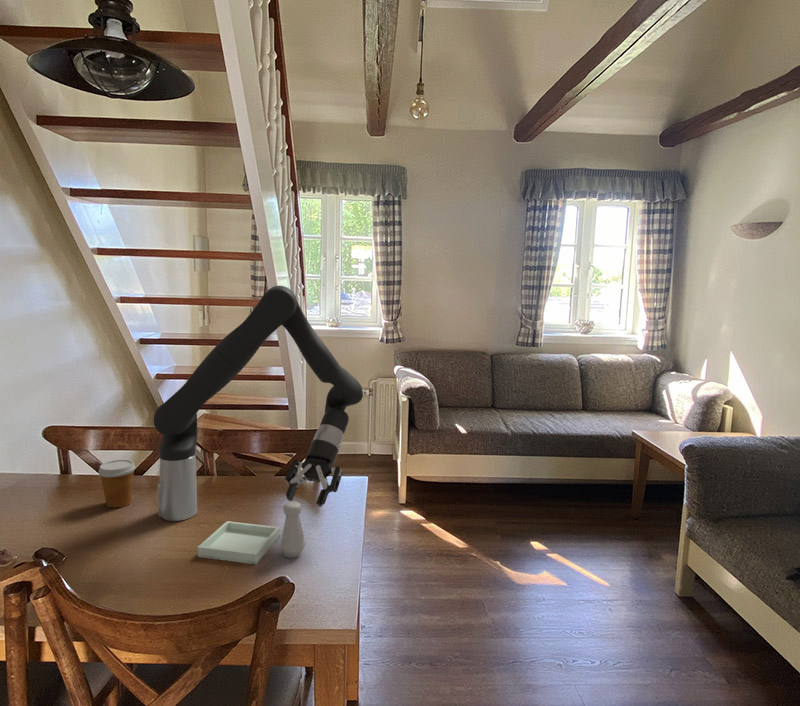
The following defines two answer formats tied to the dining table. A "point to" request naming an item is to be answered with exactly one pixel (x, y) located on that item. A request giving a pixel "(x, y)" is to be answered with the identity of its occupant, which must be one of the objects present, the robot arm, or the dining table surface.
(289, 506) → the salt shaker
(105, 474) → the disposable coffee cup
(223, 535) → the tray
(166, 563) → the dining table surface
